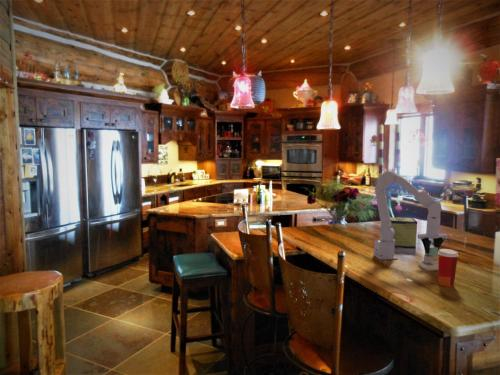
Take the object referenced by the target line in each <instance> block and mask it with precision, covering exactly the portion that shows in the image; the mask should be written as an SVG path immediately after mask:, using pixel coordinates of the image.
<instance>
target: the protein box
mask: <svg viewBox="0 0 500 375" xmlns="http://www.w3.org/2000/svg"><path fill="white" fill-rule="evenodd" d="M390 220H391V223H392V227H393V228H394V230H395V234H394V237H393V238H394V239H395V248H396V249H409V250H410V249H411V250H416V248H417V237H418V234H417V232H418V221H417V220H416V219H415V218H413V217H394V216H393V217H391V216H390Z"/></svg>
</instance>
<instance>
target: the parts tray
mask: <svg viewBox="0 0 500 375" xmlns="http://www.w3.org/2000/svg"><path fill="white" fill-rule="evenodd" d="M417 264H418V265H417V266H418V267H420V268H422V269H423V270H425V271H438V259H437V260H434V261H433V265H429V266H428V265H426V264H424V260H419V261H418V262H417Z"/></svg>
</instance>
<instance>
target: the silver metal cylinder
mask: <svg viewBox="0 0 500 375" xmlns="http://www.w3.org/2000/svg"><path fill="white" fill-rule="evenodd" d="M434 259H435V258H434V256H432V255H425V254H424V257H423V261H424V264H426V265H428V266H429V265H433V261H435V260H434Z"/></svg>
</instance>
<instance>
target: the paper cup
mask: <svg viewBox="0 0 500 375" xmlns="http://www.w3.org/2000/svg"><path fill="white" fill-rule="evenodd" d="M459 255H460V254H458V251H457V250H453V249H449V248H448V249H447V248H439V250H438V257H437V260H438V270H437V272H438V275H437V276H438V284H439V285H440V286H442V287H446V288H452V287H454V285H455V279H456V278H455V277H456V272H457V264H458V263H457V262H458V258H459V257H460V256H459Z"/></svg>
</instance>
